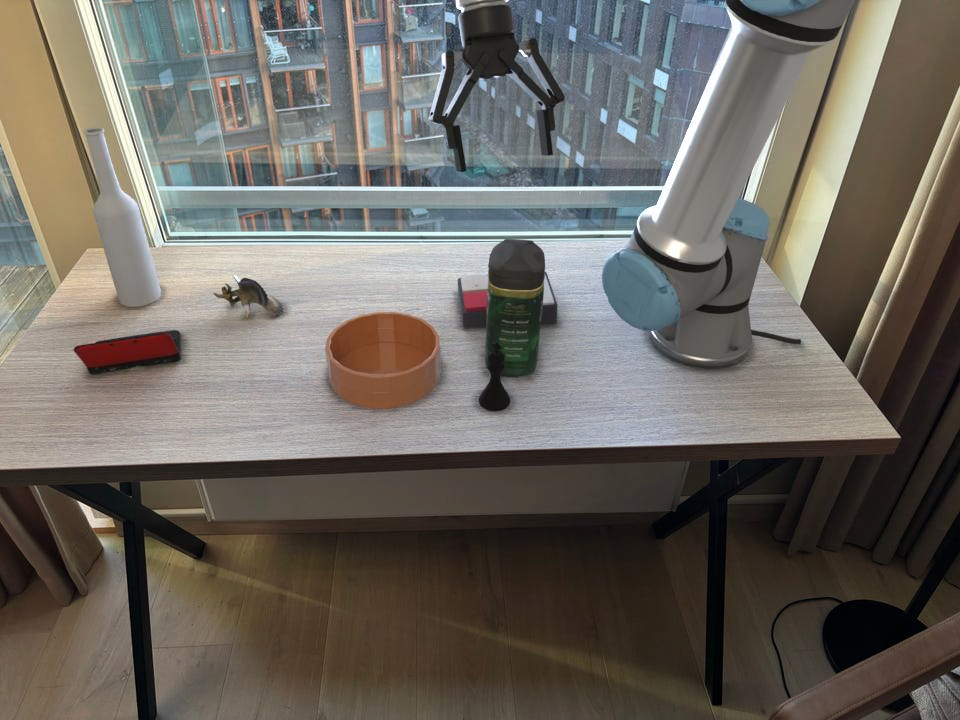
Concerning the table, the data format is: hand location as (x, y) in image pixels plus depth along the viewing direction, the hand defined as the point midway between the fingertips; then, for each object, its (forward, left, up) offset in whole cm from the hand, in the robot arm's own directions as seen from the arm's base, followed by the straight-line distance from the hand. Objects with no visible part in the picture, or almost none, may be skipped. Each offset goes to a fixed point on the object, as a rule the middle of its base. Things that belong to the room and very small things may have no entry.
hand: (505, 163), depth 114 cm
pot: (+11, +24, -24) cm, 36 cm away
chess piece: (-5, +26, -24) cm, 36 cm away
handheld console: (+47, +31, -24) cm, 62 cm away
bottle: (+57, +15, -24) cm, 64 cm away
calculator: (-2, +2, -24) cm, 24 cm away
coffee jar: (-6, +16, -24) cm, 29 cm away
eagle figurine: (+37, +14, -24) cm, 47 cm away
